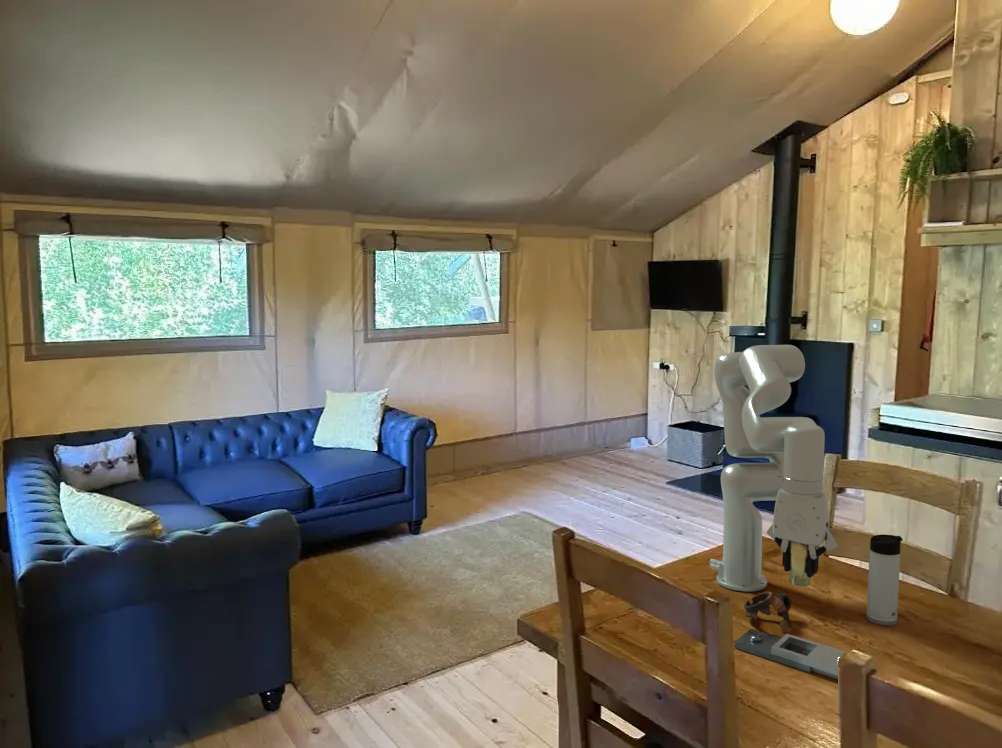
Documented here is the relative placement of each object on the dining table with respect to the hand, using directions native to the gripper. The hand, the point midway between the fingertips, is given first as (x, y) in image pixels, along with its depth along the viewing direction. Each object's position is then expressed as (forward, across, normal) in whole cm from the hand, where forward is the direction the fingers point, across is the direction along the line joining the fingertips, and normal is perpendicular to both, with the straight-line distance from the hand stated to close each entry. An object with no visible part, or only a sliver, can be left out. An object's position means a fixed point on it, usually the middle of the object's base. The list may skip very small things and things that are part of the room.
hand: (799, 571), depth 155 cm
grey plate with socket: (+19, 0, 0) cm, 19 cm away
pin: (+2, 0, 0) cm, 2 cm away
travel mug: (+19, +8, +30) cm, 37 cm away
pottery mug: (+19, -11, +13) cm, 26 cm away
